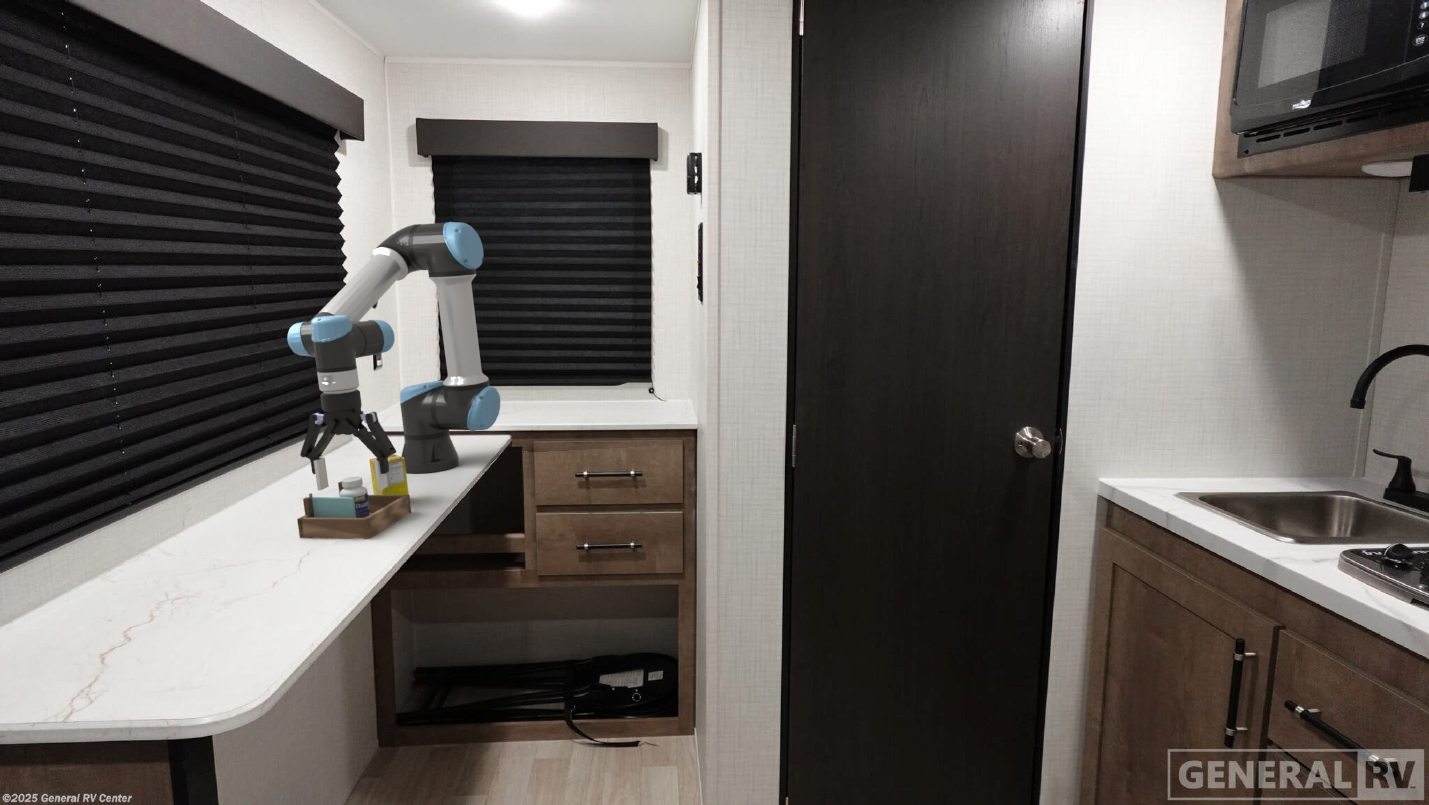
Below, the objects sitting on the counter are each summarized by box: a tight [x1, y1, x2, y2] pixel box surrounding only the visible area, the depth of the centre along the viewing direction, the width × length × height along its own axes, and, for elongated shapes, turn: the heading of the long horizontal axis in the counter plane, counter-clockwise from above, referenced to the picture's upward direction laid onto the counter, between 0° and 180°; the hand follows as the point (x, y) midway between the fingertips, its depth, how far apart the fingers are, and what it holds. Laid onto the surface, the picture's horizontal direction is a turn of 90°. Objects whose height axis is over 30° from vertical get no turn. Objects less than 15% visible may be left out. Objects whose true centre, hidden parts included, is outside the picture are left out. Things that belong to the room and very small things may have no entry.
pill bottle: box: [339, 476, 371, 518], centre depth 166 cm, size 5×5×10 cm
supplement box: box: [369, 453, 410, 495], centre depth 179 cm, size 6×6×11 cm
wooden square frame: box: [296, 480, 412, 540], centre depth 165 cm, size 17×15×8 cm
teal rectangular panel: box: [312, 496, 356, 518], centre depth 161 cm, size 9×1×7 cm, turn 79°
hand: (352, 488), depth 166 cm, fingers open, 13 cm apart
